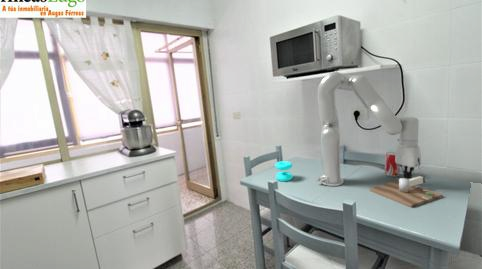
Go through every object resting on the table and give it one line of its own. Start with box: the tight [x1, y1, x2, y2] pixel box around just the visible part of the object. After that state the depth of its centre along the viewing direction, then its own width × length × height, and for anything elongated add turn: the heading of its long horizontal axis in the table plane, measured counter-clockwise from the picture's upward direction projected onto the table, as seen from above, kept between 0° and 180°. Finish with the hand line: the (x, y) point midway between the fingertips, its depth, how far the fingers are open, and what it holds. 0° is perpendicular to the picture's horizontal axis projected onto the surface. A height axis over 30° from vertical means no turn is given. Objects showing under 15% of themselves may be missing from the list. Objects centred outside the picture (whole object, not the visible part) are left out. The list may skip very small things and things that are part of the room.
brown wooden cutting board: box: [368, 179, 444, 209], centre depth 115 cm, size 21×21×2 cm
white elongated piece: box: [398, 175, 426, 192], centre depth 116 cm, size 15×4×5 cm, turn 110°
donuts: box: [275, 160, 294, 182], centre depth 146 cm, size 10×10×10 cm
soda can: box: [384, 151, 401, 178], centre depth 137 cm, size 7×7×13 cm
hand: (407, 178), depth 121 cm, fingers closed
